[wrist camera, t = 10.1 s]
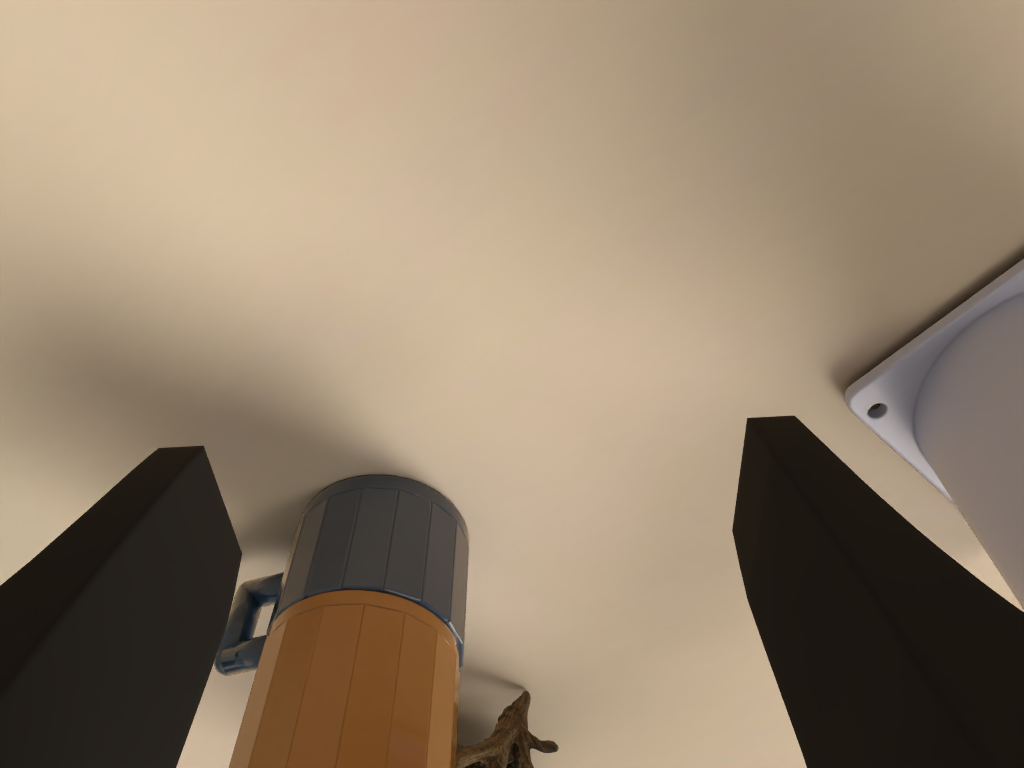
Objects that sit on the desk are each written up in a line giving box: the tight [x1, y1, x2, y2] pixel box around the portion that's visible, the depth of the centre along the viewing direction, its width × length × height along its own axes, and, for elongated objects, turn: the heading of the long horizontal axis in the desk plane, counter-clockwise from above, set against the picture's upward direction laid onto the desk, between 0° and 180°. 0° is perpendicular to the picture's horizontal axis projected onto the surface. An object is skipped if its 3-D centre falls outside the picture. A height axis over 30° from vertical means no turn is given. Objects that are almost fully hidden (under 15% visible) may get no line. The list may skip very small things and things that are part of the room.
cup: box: [214, 475, 469, 676], centre depth 25 cm, size 8×5×4 cm
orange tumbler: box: [229, 590, 460, 768], centre depth 20 cm, size 5×5×6 cm
